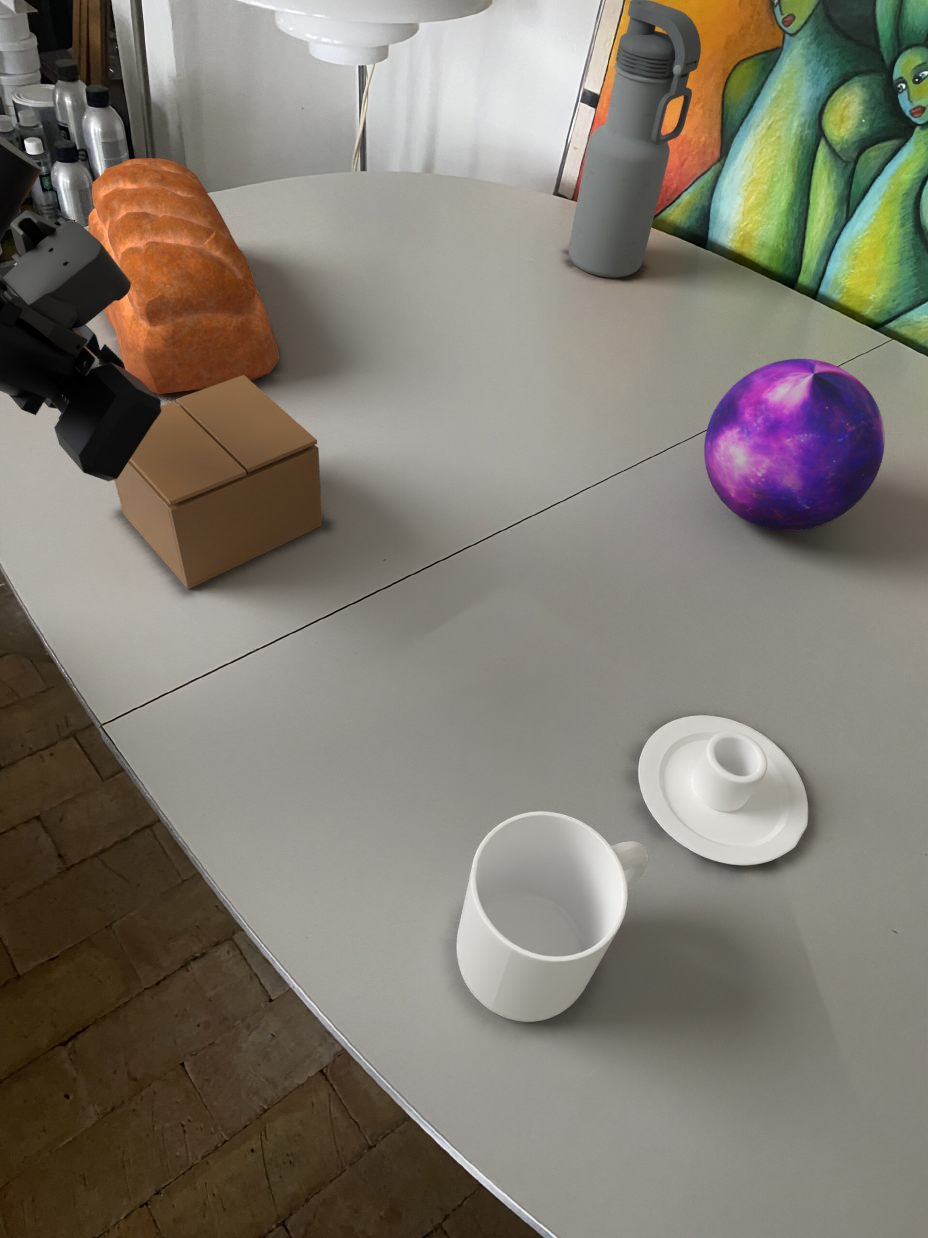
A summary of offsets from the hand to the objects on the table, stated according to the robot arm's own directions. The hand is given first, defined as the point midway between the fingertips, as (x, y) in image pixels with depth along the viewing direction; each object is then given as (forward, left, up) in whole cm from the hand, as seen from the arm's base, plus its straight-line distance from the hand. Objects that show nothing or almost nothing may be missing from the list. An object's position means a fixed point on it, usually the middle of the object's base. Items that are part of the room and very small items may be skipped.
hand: (156, 412), depth 64 cm
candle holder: (+40, -26, -13) cm, 49 cm away
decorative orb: (+53, +4, -13) cm, 55 cm away
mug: (+26, -36, -13) cm, 46 cm away
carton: (+3, +2, -13) cm, 13 cm away
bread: (-5, +36, -13) cm, 38 cm away
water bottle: (+47, +52, -13) cm, 72 cm away
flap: (0, 0, -4) cm, 4 cm away
